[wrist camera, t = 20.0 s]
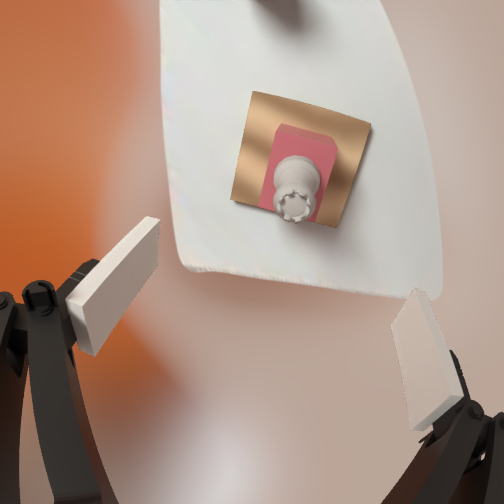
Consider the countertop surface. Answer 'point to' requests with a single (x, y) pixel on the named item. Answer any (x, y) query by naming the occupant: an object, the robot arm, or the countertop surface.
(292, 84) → the countertop surface
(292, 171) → the rook chess piece
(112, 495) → the robot arm
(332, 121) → the base plate
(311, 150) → the brick
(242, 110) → the countertop surface
